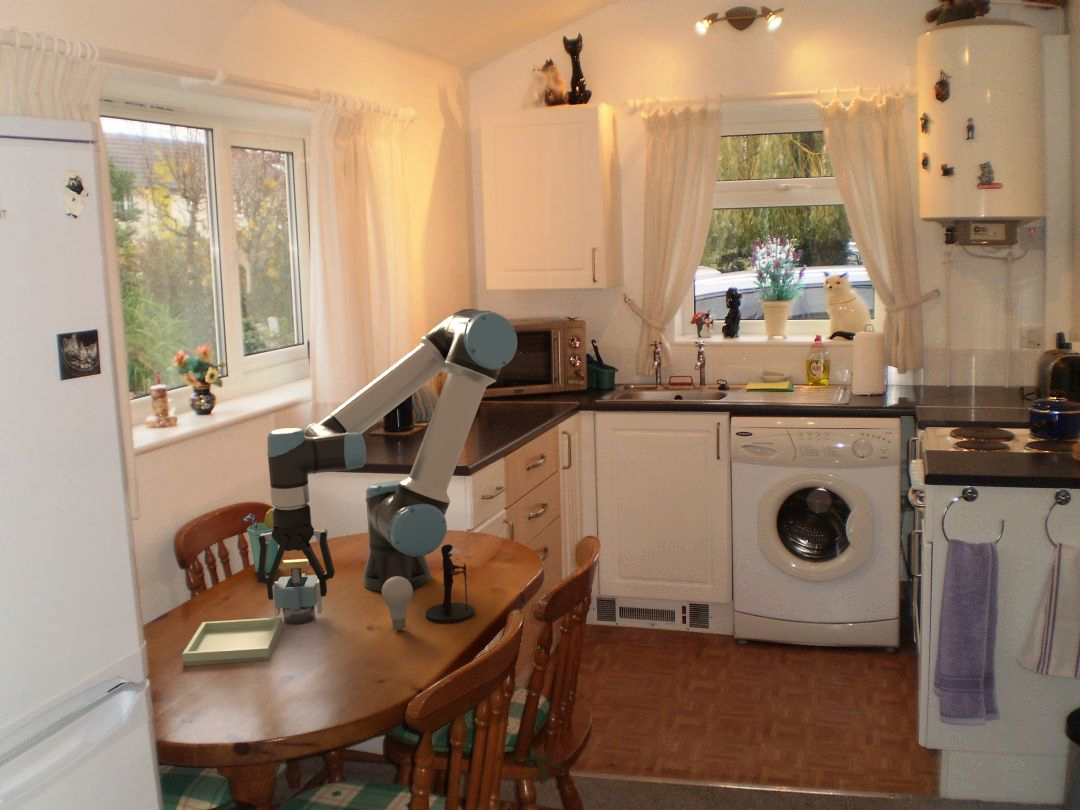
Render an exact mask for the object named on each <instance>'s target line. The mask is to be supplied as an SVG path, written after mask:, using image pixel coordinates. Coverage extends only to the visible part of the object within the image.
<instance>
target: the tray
mask: <svg viewBox="0 0 1080 810" xmlns="http://www.w3.org/2000/svg"><path fill="white" fill-rule="evenodd" d="M282 631H283V617H282V616H280V617H279V616H278V617H265V618H263V617H262V618H248V619H231V620H220V621H219V620H216V621H202V622H201V624H200V626H199V627H198V629H197V630H196V632H194V633H195V634H194V635H193V636H192V638H191V639H190V641H189V642H188V644H187V646H186V647H185V649H184V650H183V652H182V654H181V656H182V665H183V667H188V666H203V665H205V666H206V665H217V664H220V665H221V664H232V663H233V664H235V663H238V664H239V663H250V662H251V663H252V662H263V661H264V662H266V661H267V662H268V661H270V658H271V656H272V653H273V652H274V649H275V647H276V645H277V643H278V641H279V638H280V636H281V633H282Z"/></svg>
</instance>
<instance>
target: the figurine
mask: <svg viewBox="0 0 1080 810" xmlns="http://www.w3.org/2000/svg"><path fill="white" fill-rule="evenodd" d="M440 551H441V556H442V570H443V574H442V575H443V587H444V588H443V591H444V593H443V601H442V603H440V604H435V605H432V606H431V607H428V609H426V611H425V620H427V621H428V622H430V623H434V624H439V625H440V624H441V625H453V624H460V623H465V622H467V621H469V620H471V619H473V618H474V616H475V615H476V612H475V608H474V606H472V605H470V604H468V588H467V587H468V586H467V578H468V577H467V576H468V575H467V568H468V567H467V565H466V563H464V564H463V566H459V565H456V564H454V562H453V561H452V559H451V557H452V556H453V554H454V555H459V554H462V551H461V550H459V549H458V548H456V547H454V546H453V545H452V544H444V545H443V546H442V547H441V550H440ZM459 569H462V570H459ZM460 574H463V576H464V577H463V578H464V591H465V594H464V595H465V603H464V602H463V603H462V602H452V590H453V584H454V583H455V582H454V577H453V576H457V575H460Z"/></svg>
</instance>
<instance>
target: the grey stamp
mask: <svg viewBox="0 0 1080 810" xmlns="http://www.w3.org/2000/svg"><path fill="white" fill-rule="evenodd" d="M309 566H310V563H309V561H308V559H307V558H302V559H301V558H300V559H299V558H298V559H284V560H283V559H282V560H281V570H290V571H289V572H290V576H291V586H292V587H302V586H303V585H302V573H303V572H302V569H308V568H309ZM315 607H316V606H307V607H300V609H299V610H289V608H282V616H283V617H282V620H283V623H285V624H286V625H291V626H298V625H299V626H300V625H304V624H309V623H311V622H314V620H315V619H316V608H315Z"/></svg>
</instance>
